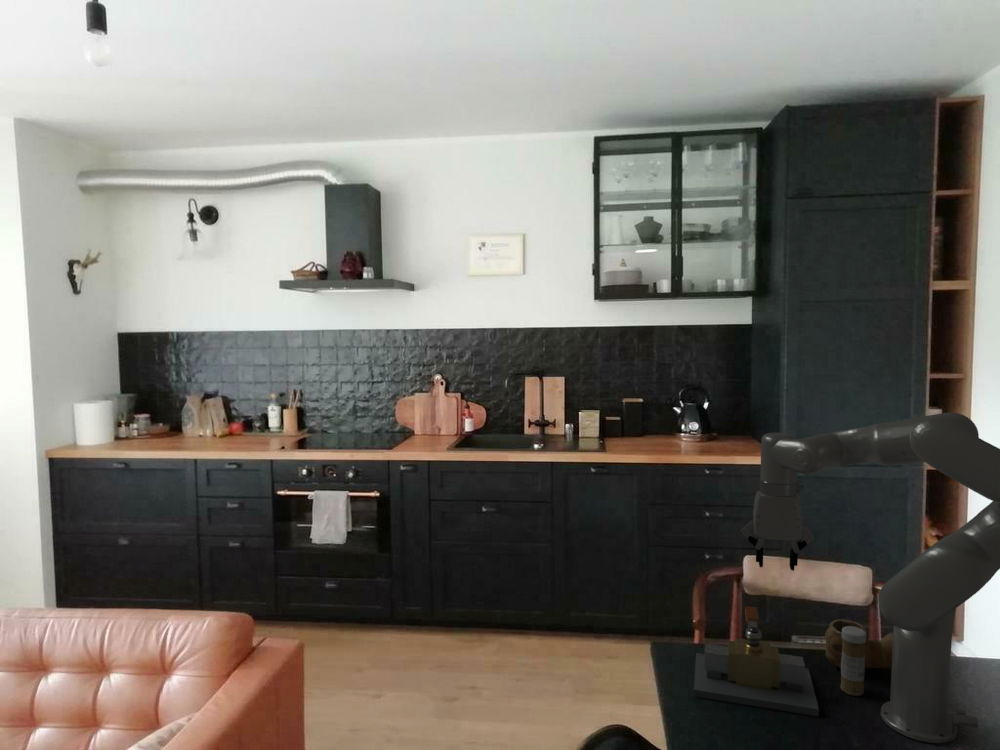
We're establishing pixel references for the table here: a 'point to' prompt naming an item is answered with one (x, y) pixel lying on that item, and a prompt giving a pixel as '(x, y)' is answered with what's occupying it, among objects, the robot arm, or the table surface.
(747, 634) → the lever
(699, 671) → the valve board
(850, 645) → the sprinkles bottle
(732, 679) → the valve
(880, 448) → the robot arm
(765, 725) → the table surface
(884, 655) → the pipe
